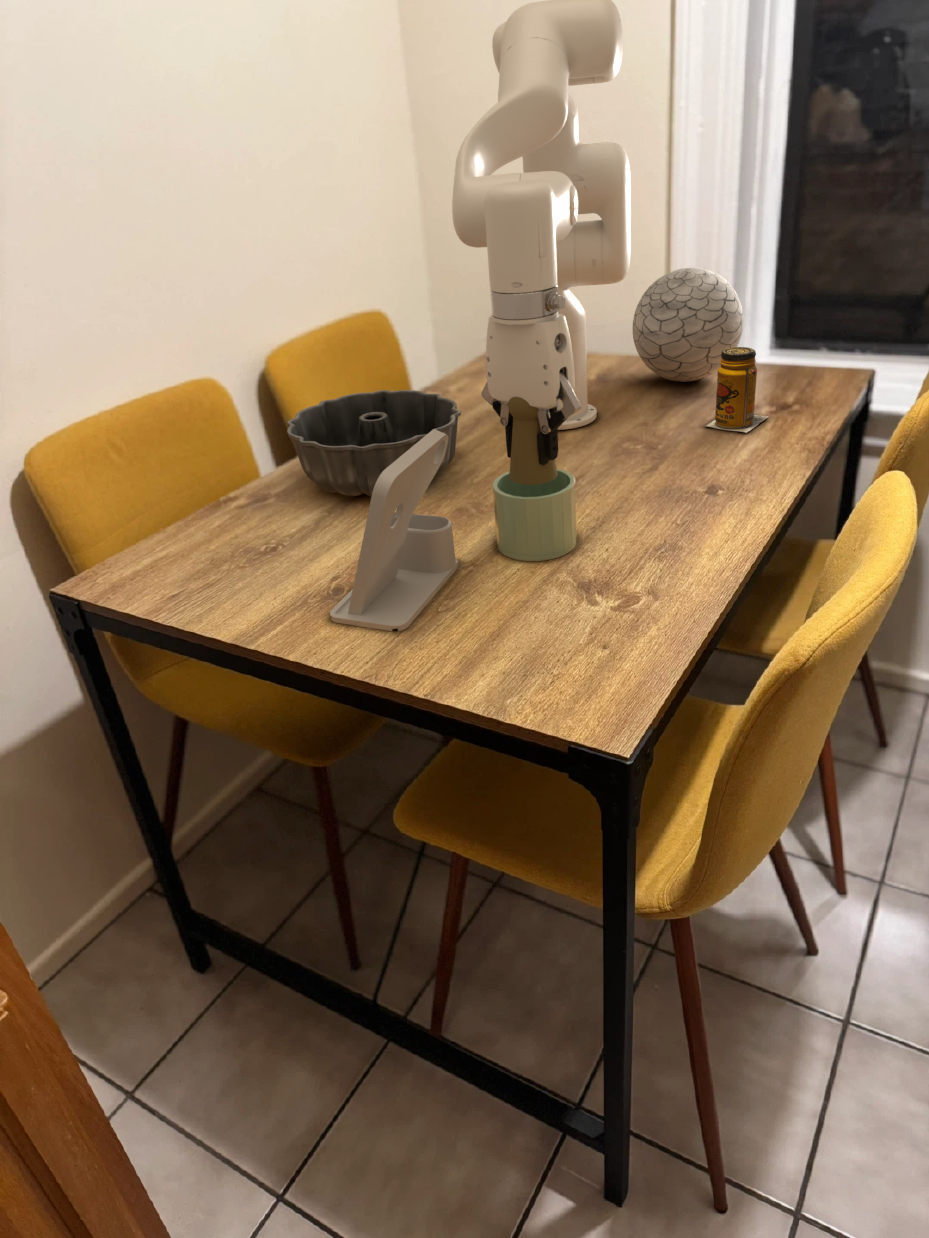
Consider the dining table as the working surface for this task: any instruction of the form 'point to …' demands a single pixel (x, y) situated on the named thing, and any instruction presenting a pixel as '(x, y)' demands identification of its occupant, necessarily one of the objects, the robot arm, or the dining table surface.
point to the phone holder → (401, 545)
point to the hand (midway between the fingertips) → (532, 456)
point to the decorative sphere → (687, 324)
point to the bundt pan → (367, 435)
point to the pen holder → (535, 517)
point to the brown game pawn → (527, 446)
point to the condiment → (736, 391)
